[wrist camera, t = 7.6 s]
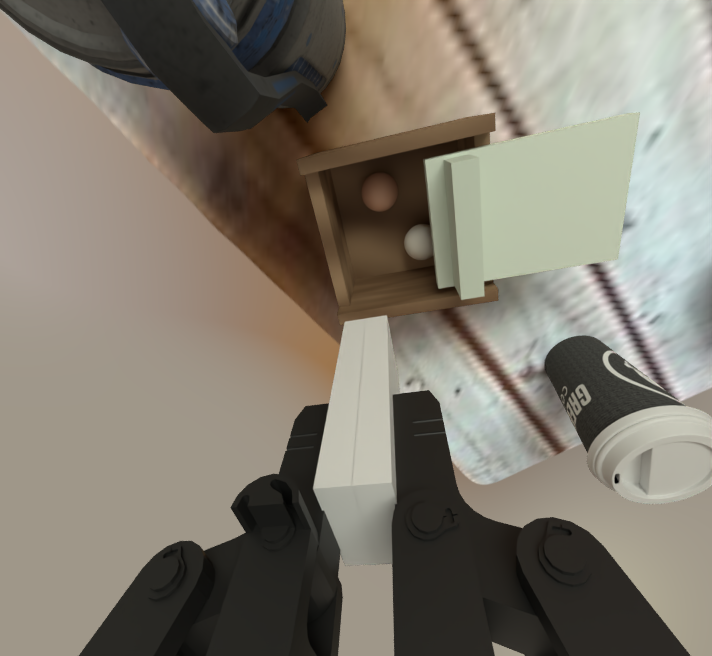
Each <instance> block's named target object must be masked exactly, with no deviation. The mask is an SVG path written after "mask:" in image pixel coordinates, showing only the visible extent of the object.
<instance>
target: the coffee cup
mask: <svg viewBox="0 0 712 656" xmlns="http://www.w3.org/2000/svg"><path fill="white" fill-rule="evenodd" d="M545 370H546V372H547V374H548V376H549V378H550V380H551V382H552V384H553V386H554V388H555V390H556V392H557V394H558V396H559V398H560V400H561V402H562V404H563V406H564V407H565V409H566V411H567V413H568V415H569V417H570V419H571V421H572V423H573V425H574V427H575V429H576V431H577V433H578V435H579V437H580V439H581V441H582V443H583V445H584V447H585V449H586V451H587V453H588V455H587V464H588V467H589V470H590V471H591V473H592V474H593V475H594V476H595V477H596V478H597V479H598V480H599V481H600V482H601V483H603V484H604V485H605V486H607V487H608V488H610V489H611V490H614V491H616V492H617V493H618V494H619V495H620V496H622V497H623V498H625V499H627V500H630V501H633V502H637V503H643V504H663V503H670V502H675V501H679V500H683V499H686V498H689V497H692V496H694V495H696V494H698V493H700V492H702V491H704V490H706V489H707V488H708V487H710V486H712V417H711V416H709V415H708V414H707V413H705V412H703V411H701V410H698V409H695V408H692V407H687V406H686V405H684V404H683V403H682V402H680V401H679V400H678V399H676V398H675V397H674V396H672V395H671V394H670V393H668V392H667V391H666V390H664V389H663V388H662V387H660V386H659V385H658V384H656V383H655V382H654V381H652V380H651V379H650V378H648V377H647V376H646V375H644V374H643V373H642V372H640V371H639V370H638V369H636V368H635V367H634V366H633V365H631V364H630V363H629V362H627V361H626V360H625V359H623V358H622V357H621V356H619V355H618V354H617V353H615V352H614V351H613V350H611V349H610V348H609V347H608V346H606V345H605V344H604V343H602V342H601V341H600V340H598V339H596V338H594V337H590V336H575V337H571V338H568V339H566V340H563V341H562V342H560V343H558V344H557V345H556V346H554V347H553V348H552V349H551V351H550V352H549V353H548V355H547V357H546V360H545Z"/></svg>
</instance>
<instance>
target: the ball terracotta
mask: <svg viewBox="0 0 712 656" xmlns="http://www.w3.org/2000/svg"><path fill="white" fill-rule="evenodd" d="M361 196H362V200H363V202H364V204H365V205H366V206H367V207H368V208H369V209H371V210H373V211H376V212H383V211H386V210H388V209H390V208H391V207H392V206H393V205H394V204H395V202H396V200H397V198H398V185H397V182H396V181H395V179H394V178H393V177H392V176H391V175H389V174H388V173H385V172H376V173H373V174H371V175H370V176H368V177H367V178H366V179H365V181H364V183H363V185H362V189H361Z"/></svg>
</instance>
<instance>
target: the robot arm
mask: <svg viewBox="0 0 712 656" xmlns="http://www.w3.org/2000/svg"><path fill="white" fill-rule="evenodd" d="M290 436H291V438H290V439H289V441H288V445H287V451H285V455H284V458H283V462H282V465H281V468H280V472H279V474H271V475H267V476H263V477H260V478H259V479H257V480H255V481H253V482H252V483H250V484H248V485H247V486H246V487H245V488H244V489H243V490H242V491H241V492H240V493H239V494H238V496H237V497H236V499H235V501H234V503H233V504H232V506H231V509H232V511H233V512H234V514H235V516H236V517H237V519H238V520H239V522H240V524H241V525H242V527H243V529H244V530H245V532H246V533H244V534H242V535H240V536H238V537H237V538H235V539H232V540H230V541H227V542H225V543H222V544H220V545H217V546H215V547H212V548H210V549H207V550H205V551H203V549H202V548H201V547H200V546H199V545H197V544H196V543H194V542H193V541H180V542H177V543H174V544H172V545H169V546H167V547H166V548H164V549H163V550H162V551H160V552H159V553H158V554H156V555H155V556H154V557H153V558H152V559H151V560H150V561H149V562H148V563H147V564H146V565H145V566H144V568H143V569H142V570H141V571H140V573H139V574H138V576H137V577H136V578H135V580H134V581H133V582H132V584H131V585H130V587H129V588H128V589H127V590H126V592H125V593H124V595H123V596H122V597H121V599H120V600H119V601H118V603H117V604H116V606H115V607H114V608H113V610H112V611H111V612H110V614H109V615H108V616H107V618H106V619H105V621H104V622H103V623H102V625H101V626H100V627H99V629H98V630H97V632H96V633H95V634H94V636H93V637H92V638H91V640H90V641H89V642H88V644H87V645H86V647H85V648H84V649H83V651H82V652H81V653H80V655H79V656H338V647H339V635H340V623H341V611H342V598H343V597H342V585H341V583H340V581H339V578H338V570H339V560H340V555H341V557H342V560H343V562H344V564H345V566H352V565H376V564H392V567H393V610H394V611H393V613H394V656H495V655H494V650H493V646H492V642H494V643H497V644H499V645H502V646H504V647H507V648H509V649H512V650H514V651H517V652H520V653H522V654H524V655H525V656H690V654H689V653H688V652H687V651H686V649H685V648H684V647H683V646H682V644H681V643H680V642H679V640H678V639H677V638H676V637H675V636H674V634H673V633H672V632H671V631H670V629H669V628H668V627H667V625H666V624H665V623H664V622H663V620H662V619H661V618H660V617H659V615H658V614H657V613H656V612H655V610H654V609H653V608H652V606H651V605H650V604H649V603H648V601H647V600H646V599H645V598H644V596H643V595H642V594H641V593H640V591H639V590H638V589H637V588H636V586H635V585H634V584H633V583H632V582H631V580H630V579H629V578H628V576H627V575H626V574H625V573H624V571H623V570H622V569H621V567H620V566H619V565H618V564H617V562H616V561H615V560H614V559H613V557H612V556H611V555H610V554H609V552H608V551H607V550H606V549H605V547H604V546H603V545H602V544H601V543H600V542H599V541H598V540H597V539H596V538H595V537H594V536H593V535H591V534H590V533H589V532H588V531H587V530H585V529H583V528H581V527H579V526H578V525H576V524H574V523H572V522H570V521H566V520H562V519H558V518H554V517H550V518H540V519H536V520H534V521H532V522H530V523H529V524H527V525H525V526H524V527H523V528H520V527H516V526H512V525H508V524H504V523H500V522H497V521H494V520H491V519H488V518H486V517H483V516H482V515H480V514H479V513H477V512H475V511H474V510H473V509H472V508H471V507H470V506H469V505H468V504H467V503H465V501H464V499H463V498H462V496H461V495H460V493H459V490H458V487H457V484H456V480H455V475H454V470H453V465H452V461H451V456H450V451H449V446H448V441H447V437H446V432H445V427H444V422H443V418H442V413H441V408H440V403H439V401H438V400H437V399H436V398H435V397H434V396H433V395H432V393H431V392H430V391H429V390H427V391H419V392H410V393H402V394H400V388H399V376H398V371H397V365H396V360H395V355H394V350H393V344H392V339H391V334H390V329H389V323H388V318H387V315H385V316H378V317H372V318H366V319H359V320H353V321H346V322H345V323H344V328H343V334H342V339H341V344H340V350H339V355H338V360H337V365H336V371H335V376H334V381H333V387H332V392H331V397H330V402H329V403H328V404H320V405H312V406H305V408H304V409H303V410H302V412H301V413H300V414H299V415H298V417H297V418H296V419H295V421H294V425H293V428H292V431H291V435H290Z"/></svg>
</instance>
